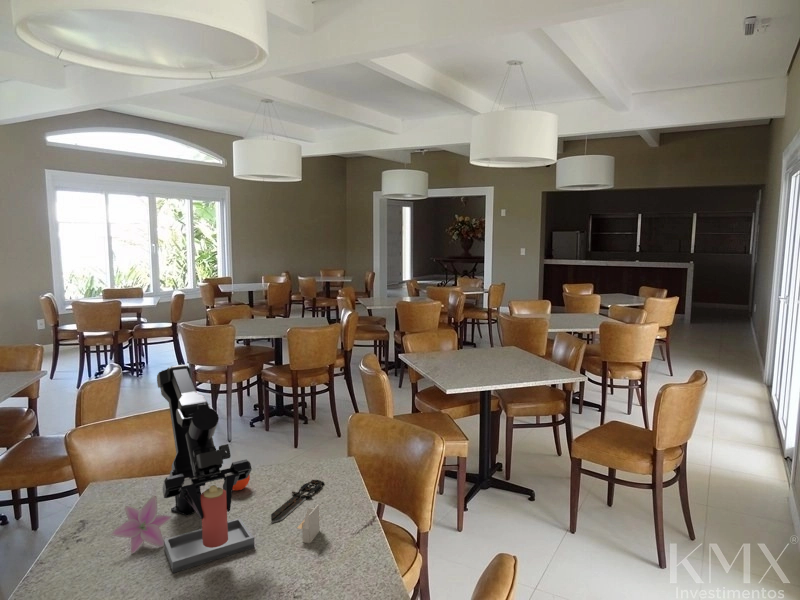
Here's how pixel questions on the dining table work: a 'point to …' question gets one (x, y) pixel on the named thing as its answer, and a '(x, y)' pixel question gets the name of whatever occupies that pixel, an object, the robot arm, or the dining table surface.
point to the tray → (192, 552)
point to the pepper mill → (214, 517)
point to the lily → (142, 525)
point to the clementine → (241, 484)
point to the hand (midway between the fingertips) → (215, 514)
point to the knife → (293, 500)
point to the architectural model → (310, 524)
